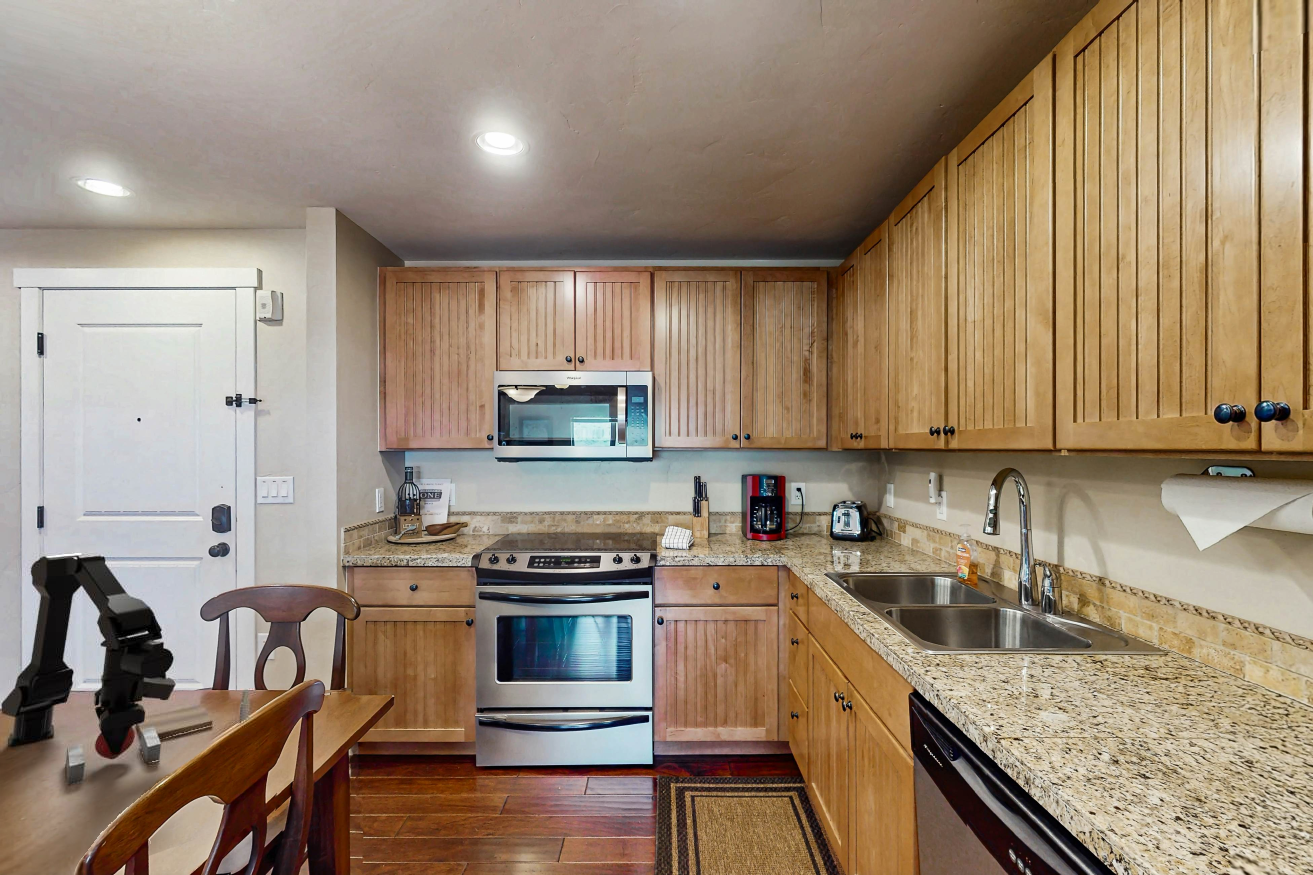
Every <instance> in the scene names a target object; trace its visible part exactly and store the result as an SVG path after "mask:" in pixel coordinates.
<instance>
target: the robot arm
mask: <svg viewBox="0 0 1313 875" xmlns="http://www.w3.org/2000/svg"><path fill="white" fill-rule="evenodd" d="M30 576H31V584H32V586H33V587H34V588H35V590H36V591H37V592H38V594H39V595H40V600H39V606H38V612H37V613H38V614H37V619H36V620H37V621H36V625H35V632H34V634H35V635H34V640H33V644H32V645H33V647H32V652H31V659H30V663H29V664H28V665H27V666H26V667H25V668H24V669H23V670H22V672H20V674H19V675H18V676H17V677H16V682H15V685H14V688H13V689H12V690H11V691H10V692H9V694H8V695H7V697H5V699H4V700H3V701H2V702H1V704H0V705H1V713H2V715H6V716H10V717H12V718H14V719H13V720H14V721H13V729H12V733H10V734H9V738H8V747H13V746H18V745H23V744H28V743H31V742H32V743H33V742H36V741H40V740H46V739H50V738H53V737H55V726H54V724H53V717H54V709H55V706H56V705H60V704H66V703H67V702H68V699H69V695H70V693H71V690H72V689H73V688H72V687H73V684H74V682H73V681H74V680H73V677H74V670H73V668H70V667H69V666H68V665H67V663H66V662H65V661H64V655H65V651H66V649H65V648H66V645H67V644H66V642H67V636H68V632H69V631H68V630H69V624H70V617H71V609H72V604H73V603H72V602H73V598H74V594H75V593H76V592H78V590H79V589H80V588H81V587H82V588H83V590H84V591H85V593H86V594H87V595H88V597H89V598H90V599H91V601H92V603H93V605H95V607H96V609H97V610H98V613H99V615H98V619H97V622H96V624H97V626H98V629H99V632H100V634H101V635H102V637H103V639H104V640H103V641H102V642H100V647H103V648H105V651H104V653H105V655H104V663H103V672H102V674H101V676H100V677H101V678H100V681H101V687H100V688H99V689H98V690H97V691H96V692H94V694H93V695H94V696H93V698H94V699H93V704H94V707H95V708H94V711H95V714H96V716H97V718H98V721H99V724H98V727H99V731H100V733H102V735H103V737H104V739H105V741H106V743H107V745H108V748H109V750H110V752H111V754H112V755H117V754H119V753H120V751H121V749H122V746H123V744H124V741H125V739H126V736H127V734H128V732H129V729H130V728H131V727H132V728H133V727H134V726H135V725H136V724H140V723H142V722H144V719H145V717H146V711H145V708H144V706H143V705H141V704H139V703H140V702H143V698H145V699H158V700H160V701H167V700H169V699H170V696H171V694H172V692H173V690H174V689H175V687H176V685H177V684H176V682H175V680H174V679H172V678H171V677H167V673H168V671H169V670H170V669H171V667H172V665H173V663H174V659H175V657H174V656H173V653H172V651H171V650H170V649H168V648H165V647H164V646H165V643H164V641H161V640H162V638H163V635H162V631H163V629H162V627H161V625H160V624H159V622H158V620H157V617H156V616H155V612H154V611H153V609H151V607H150V606H149V605H148V604H147V603H145V601H143V600H142V599H140V598H137V597H134V596H130V595H129V594H128V593H127V591H126V590H125V588H124V587H123V586H122V584H121V583H120V581H119V580H118V579H117V578H116V576H115V574H114V573H113V572H112V570H111V569H110V568H109V566H107V563H106V558H105V556H104V555H103V554H99V553H90V554H88V553H87V554H83V553H81V552H76V553H65V554H55V555H44V556H41V557H40V558H39V559H38V560H36V561H34V562H33V563H32V565H31V568H30ZM158 640H159V641H158ZM138 702H139V703H138Z"/></svg>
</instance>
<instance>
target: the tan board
mask: <svg viewBox="0 0 1313 875" xmlns="http://www.w3.org/2000/svg"><path fill="white" fill-rule="evenodd" d="M135 725H136V726H135V729H136V728H137V729H136V731H137V730H138V731H137V734H138V733H139V734H138V736H140V737H139V739H140V738H141V730H144V729H148V728H152V727H154V729H155V731H156V733H157V735H158V738H159V739H162V740H164V739H163V738H166V737H169V736H173V735H176V734H179V733H184V732H188V731H191V730H195V729H199V728H203V727H207V726H211V725H212V726H213V719H212V718H211V716H210V715H209V713H208V712H207V709H205V707H204V705H203V704H199V705H194V706H189V707H184V708H181V709H175V710H171V711H167V712H161V713H158V714H152V715H148V716H145V719H144V722H142V723H140V724H135ZM166 739H167V738H166Z"/></svg>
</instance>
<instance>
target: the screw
mask: <svg viewBox="0 0 1313 875" xmlns="http://www.w3.org/2000/svg"><path fill="white" fill-rule="evenodd" d="M241 694H242V695H241V700H240V701H241V702H239V704H240V705H239V709H238V713H239V714H238V717H237V718H238V720H237V721H238V723H237V725H239V723H241V722H242V721H244V720H246V719H247V718H248V719H249V718H250V709H251V708H250V707H251V706H250V704H251V702H250V701H251V700H250V697H249V696H250V691H249V690H248V689H244V690H243V691H242V693H241Z"/></svg>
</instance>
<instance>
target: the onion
mask: <svg viewBox="0 0 1313 875" xmlns="http://www.w3.org/2000/svg"><path fill="white" fill-rule="evenodd" d="M135 733H136V732H135V729H134V728H133V726H132V727H131V728H130V729H129V732H128V734H127V736H126V739H125V741H124V744H123V746H122V749H121V751H120V753H119V754H117V755H112V754H111V752H110V750H109V748H108V745H107V743H106V741H105V739H104V737H103V735H102V733H101V732H100V733H99V734H98V736H97V738H96V740H95V742H94V743H95V744H94V747H95V751H96V753H97V754H98V755H99V756H100V757H102V758H105V759H109V760H115V759H117V758H118V757H119V756H120V755H122V754H124V753H125V752H126V751H127V750H128V749H129V748H130V747H131V746H132V744H133V743H134V740H135V736H136V734H135Z"/></svg>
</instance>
